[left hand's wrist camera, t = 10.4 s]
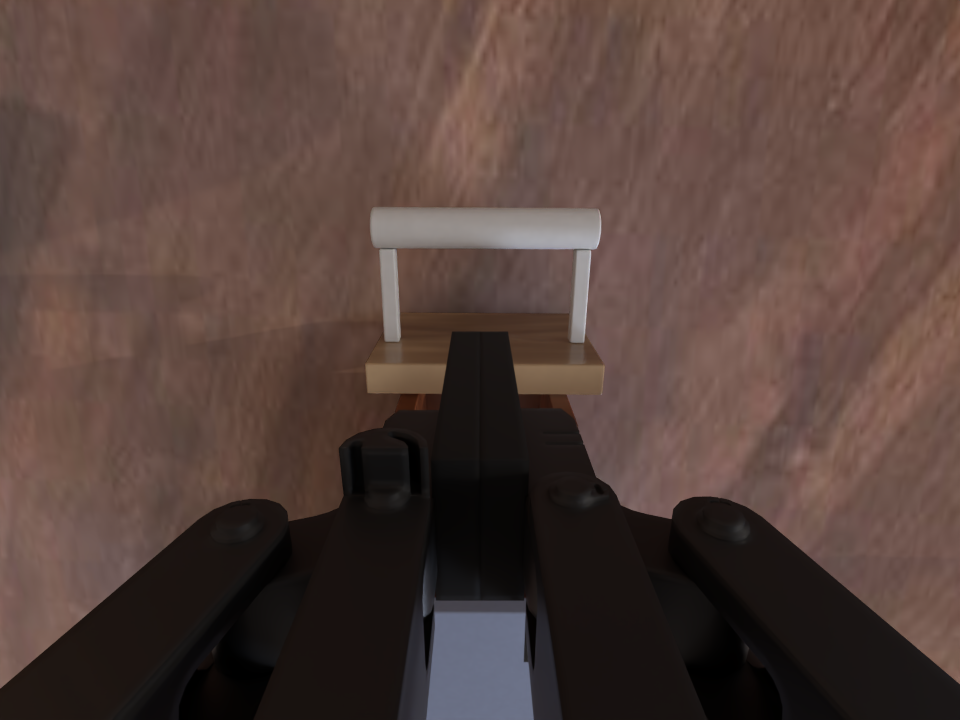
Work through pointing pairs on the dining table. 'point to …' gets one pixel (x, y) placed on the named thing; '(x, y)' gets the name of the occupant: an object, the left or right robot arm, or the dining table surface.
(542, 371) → the drawer
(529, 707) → the cabinet
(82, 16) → the dining table surface
